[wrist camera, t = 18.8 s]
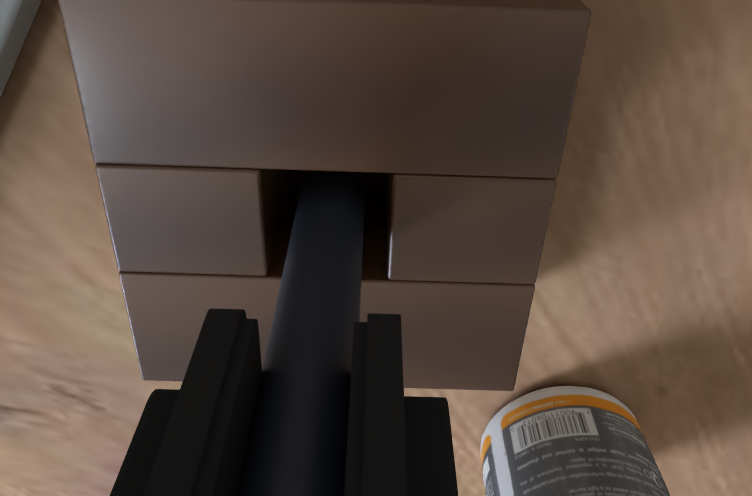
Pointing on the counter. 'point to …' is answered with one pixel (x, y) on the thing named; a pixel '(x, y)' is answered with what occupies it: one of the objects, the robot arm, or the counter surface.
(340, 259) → the peg
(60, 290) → the counter surface
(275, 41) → the dock
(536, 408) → the pill bottle
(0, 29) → the grey-rimmed serving tray
